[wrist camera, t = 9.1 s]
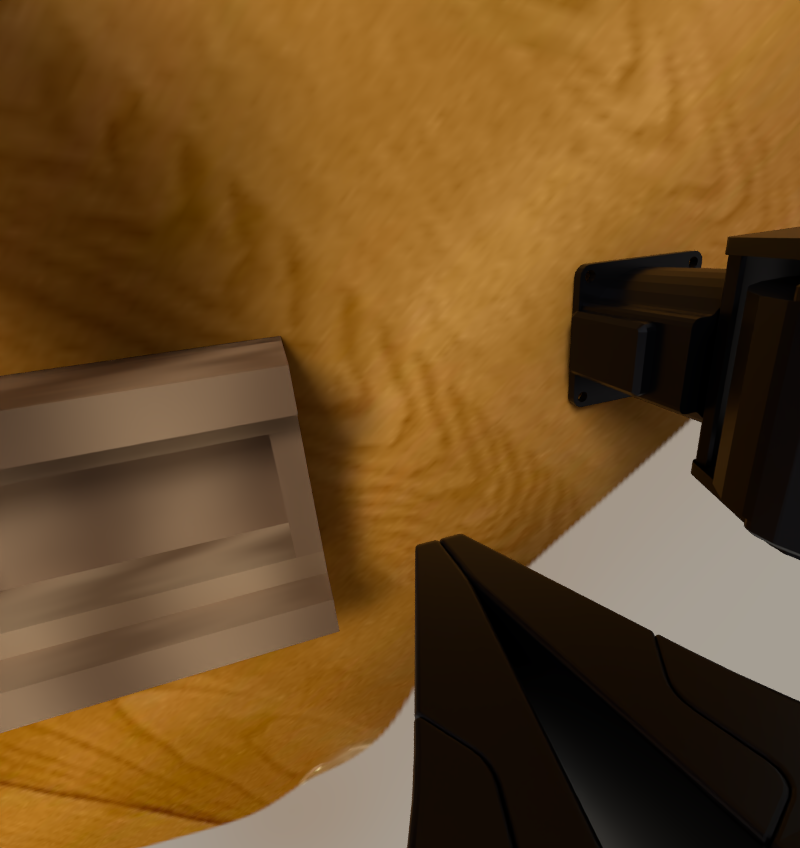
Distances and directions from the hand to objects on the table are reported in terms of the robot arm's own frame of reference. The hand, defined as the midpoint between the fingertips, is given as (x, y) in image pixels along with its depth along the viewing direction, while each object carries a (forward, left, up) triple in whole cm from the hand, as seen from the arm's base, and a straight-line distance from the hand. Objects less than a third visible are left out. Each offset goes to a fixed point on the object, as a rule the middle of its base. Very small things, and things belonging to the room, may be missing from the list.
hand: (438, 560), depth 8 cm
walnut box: (+9, +3, -12) cm, 15 cm away
